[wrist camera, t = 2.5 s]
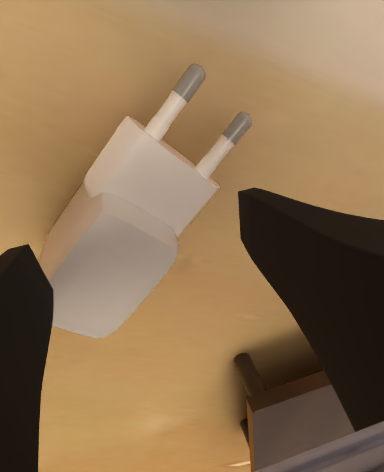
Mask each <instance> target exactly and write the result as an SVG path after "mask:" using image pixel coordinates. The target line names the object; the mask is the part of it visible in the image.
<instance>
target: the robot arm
mask: <svg viewBox="0 0 384 472" xmlns="http://www.w3.org/2000/svg"><path fill="white" fill-rule="evenodd" d="M238 198H239V216H240V234H241V240H242V242H243V244H244V246H245V248H246V250H247V252H248V253H249V255H250V257H251V259H252V260H253V262H254V263H255V265H256V266H257V267H258V269H259V270H260V271H261V273H262V274H263V275H264V277H265V278H266V279H267V281H268V282H269V283H270V285H271V286H272V287H273V289H274V290H275V291H276V293H277V294H278V295H279V297H280V298H281V299H282V301H283V302H284V303H285V305H286V306H287V308H288V309H289V310H290V312H291V313H292V315H293V317H294V318H295V320H296V322H297V323H298V325H299V327H300V328H301V330H302V332H303V334H304V335H305V337H306V339H307V340H308V342H309V344H310V346H311V348H312V349H313V351H314V353H315V355H316V357H317V358H318V360H319V362H320V364H321V366H322V368H323V369H324V371H325V373H326V375H327V377H328V379H329V381H330V383H331V385H332V387H333V388H334V390H335V392H336V394H337V396H338V398H339V400H340V402H341V404H342V406H343V408H344V410H345V412H346V414H347V417H348V419H349V421H350V423H351V425H352V427H353V429H354V431H355V432H354V433H352V434H349V435H347V436H344V437H342V438H339V439H337V440H334V441H331V442H329V443H326V444H324V445H321V446H319V447H316V448H314V449H311V450H309V451H306V452H303V453H301V454H298V455H296V456H293V457H291V458H288V459H286V460H283V461H280V462H278V463H275V464H273V465H270V466H268V467H265V468H263V469H260V470H258V471H255V472H384V220H378V219H371V218H365V217H360V216H355V215H349V214H344V213H340V212H335V211H331V210H328V209H324V208H320V207H316V206H313V205H309V204H306V203H303V202H300V201H297V200H293V199H290V198H287V197H284V196H281V195H278V194H275V193H272V192H269V191H266V190H262V189H258V188H251V189H247V190H243V191H239V192H238ZM53 310H54V290H53V288H52V286H51V284H50V283H49V281H48V279H47V277H46V275H45V273H44V272H43V270H42V268H41V266H40V264H39V262H38V261H37V259H36V257H35V255H34V253H33V251H32V250H31V248H30V246H29V244H27V245H23V246H19V247H15V248H11V249H8V250H7V251H6V252H4V253H3V254H2V255H0V472H38V447H39V419H40V401H41V390H42V381H43V375H44V369H45V363H46V358H47V352H48V346H49V340H50V334H51V328H52V322H53Z"/></svg>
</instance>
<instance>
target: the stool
mask: <svg viewBox="0 0 384 472" xmlns="http://www.w3.org/2000/svg"><path fill="white" fill-rule="evenodd" d="M234 362H235V364H236V367H237V369H238V371H239V374H240V376H241V378H242V381H243V383H244V385H245V387H246V390H247V392H248V394H249V397H247V398H246V403H247V419H245V420H243V421H242V422H241V424H240V425H241V427H242V430H243V433H244V435H245V438H246V441H247V443H248V446H249V449H250V463H251V472H255V471H258V470H260V469H263V468H265V467H268V466H270V465H273V464H275V463H278V462H280V461H283V460H286V459H288V458H291V457H293V456H296V455H298V454H301V453H303V452H306V451H309V450H311V449H314V448H316V447H319V446H321V445H324V444H326V443H329V442H331V441H334V440H337V439H339V438H342V437H344V436H347V435H349V434H352V433H354V432H355V431H354V429H353V427H352V425H351V423H350V421H349V419H348V417H347V414H346V412H345V410H344V408H343V406H342V404H341V402H340V400H339V398H338V396H337V394H336V392H335V390H334V388H333V387H332V385H331V383H330V381H329V379H328V377H327V375H326V373H325V371H324V370H323V371H320V372H318V373H315V374H312V375H309V376H306V377H303V378H300V379H298V380H295V381H292V382H289V383H286V384H283V385H280V386H278V387H275V388H272V389H269V390H266V389H265V387H264V385H263V383H262V381H261V378H260V376H259V374H258V372H257V370H256V368H255V366H254V364H253V362H252V360H251V358H250V356H249V354H247V353H242V354H240V355H238V356H237V357H236V358H235V360H234Z"/></svg>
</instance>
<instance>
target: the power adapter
mask: <svg viewBox="0 0 384 472" xmlns="http://www.w3.org/2000/svg"><path fill="white" fill-rule="evenodd" d="M205 77H206V73H205V70H204V69H203V67H202V66H200V65H199V64H191V65H190V66H189V67H188V68H187V70H186V71H185V72H184V74H183V75H182V77H181V78H180V80H179V81H178V82H177V84H176V85H175V87H174V88H173V89H172V90H173V91H172V92H171V94H170V95H169V97H168V98H167V100H166V101H165V102H164V104H163V105H162V107H161V108H160V109H159V111H158V112H157V114H156V115H154V116H153V117H152V119H151V120H150V122H149V123H148V125H147V126H146V127H144V126H143V125H142V124H140V123H139V122H138V121H136V120H135V119H133V118H131V117H129V116H126V117H125V119H124V120H123V121H122V122H121V124H120V125H119V126H118V128H117V129H116V131H115V132H114V134H113V135H112V137H111V138H110V140H109V141H108V143H107V144H106V146H105V147H104V149H103V150H102V151H101V153H100V154H99V156H98V157H97V159H96V160H95V162H94V163H93V165H92V166H91V168H90V169H89V171H88V172H87V174H86V176H85V178H84V182H83V183H82V185H81V186H80V188H79V189H78V190H77V192H76V193H75V195H74V196H73V198H72V199H71V201H70V202H69V204H68V205H67V207H66V208H65V209H64V211H63V212H62V214H61V215H60V217H59V218H58V220H57V221H56V223H55V224H54V226H53V227H52V229H51V231H50V232H49V234H48V235H47V237H46V239H45V242H44V245H43V248H42V252H41V255H40V258H39V264H40V266H41V268H42V270H43V272H44V273H45V275H46V277H47V279H48V281H49V283H50V284H51V286H52V288H53V290H54V310H53V322H52V326H54V327H57V328H60V329H64V330H67V331H70V332H74V333H77V334H80V335H84V336H88V337H93V338H98V339H101V338H103V337H106V336H108V335H111V334H113V333H115V332H116V331H117V330H118V329H119V327H120V326H121V325H122V324H123V323H124V322H125V321H126V320H127V319H128V318H129V317H130V316H131V314H132V313H133V312H134V311H135V310H136V309H137V308H138V306H139V305H140V304H141V303H142V302H143V301H144V300H145V298H146V297H147V296H148V295H149V294H150V293H151V291H152V290H153V289H154V288H155V287H156V286H157V284H158V283H159V282H160V281H161V280H162V278H163V277H164V276H165V275H166V273H167V272H168V271H169V269H170V268H171V267H172V266H173V264H174V263H175V260H176V257H177V254H178V250H179V243H178V239H177V238H178V237H179V236H180V235H181V234H182V233H183V232H184V231H185V230H186V229H187V227H188V226H189V225H190V224H191V223H192V221H193V220H194V219H195V218H196V217H197V215H198V214H199V213H200V212H201V211H202V210H203V208H204V207H205V206H206V205H207V204H208V202H209V201H210V200H211V199H212V198H213V196H214V195H215V194H216V193H217V192H218V191H219V189H220V187H219V185H218V184H216V183H215V182H214V181H213V180H212V179H211V178H210V177H209V176H210V175H211V174H212V173H213V172H214V170H215V169H216V168H217V167H218V166H217V165H218V164H219V163H220V162H221V160H222V159H223V158H224V157H225V156H226V154H227V153H228V152H229V151H230V149H231V148H232V147H233V146H234V145H236V143H237V142H238V141H239V140H240V138H241V137H242V136H243V135H244V134H245V132H246V131H247V130H248V129H249V127H250V126H251V125H252V118H251V116H250V115H249V114H248V113H246V112H240V113H238V114H237V115H236V117H235V118H234V119H233V120H232V122H231V123H230V124H229V125H228V127H227V128H226V129H225V130H224V132H223V133H222V135H221V137H220V138H219V139H218V140H217V142H216V143H215V144H214V146H213V147H212V148H211V149H210V151H209V152H208V153H207V154H206V156H205V155H204V157H203V158H202V159H201V160H200V162H199V163H198V164H197V165H196V166H195V165H194V164H193V163H191V162H190V161H189V160H188V159H186V158H185V157H184V156H182V155H181V154H180V153H178V152H177V151H176V150H175V149H173V148H172V147H171V146H169V145H168V144H167V143H166V142H164V141H163V140H162V138H163V136H164V135H165V133H166V132H167V131H168V129H169V128H170V127H169V126H170V125H171V124H172V122H173V121H174V119H175V118H176V117H177V115H178V114H179V113H180V111H181V110H182V109H183V107H184V106H185V104H186V103H188V102H189V101H190V99H191V98H192V96H193V95H194V94H195V92H196V91H197V90H198V88H199V87H200V86H201V84H202V83H203V81H204V80H205Z"/></svg>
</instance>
